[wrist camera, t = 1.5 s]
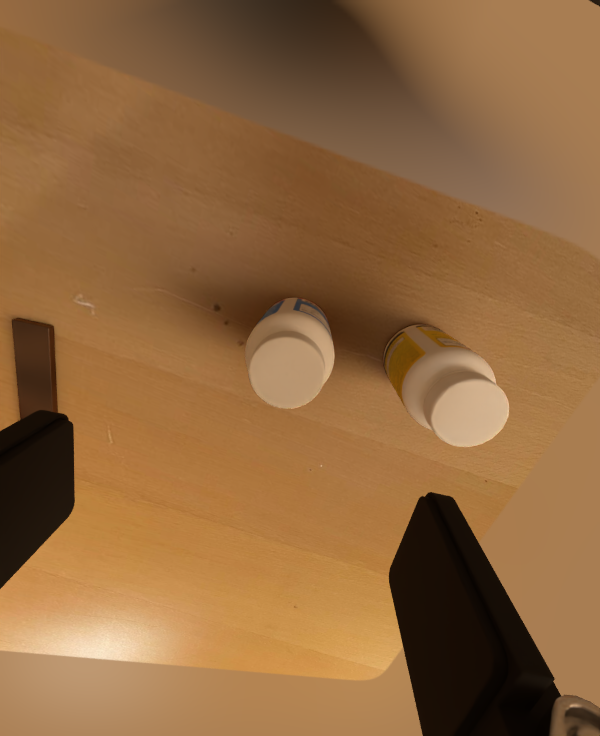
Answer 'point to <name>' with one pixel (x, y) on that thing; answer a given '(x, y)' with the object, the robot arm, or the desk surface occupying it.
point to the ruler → (35, 366)
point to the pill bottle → (290, 353)
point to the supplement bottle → (445, 386)
